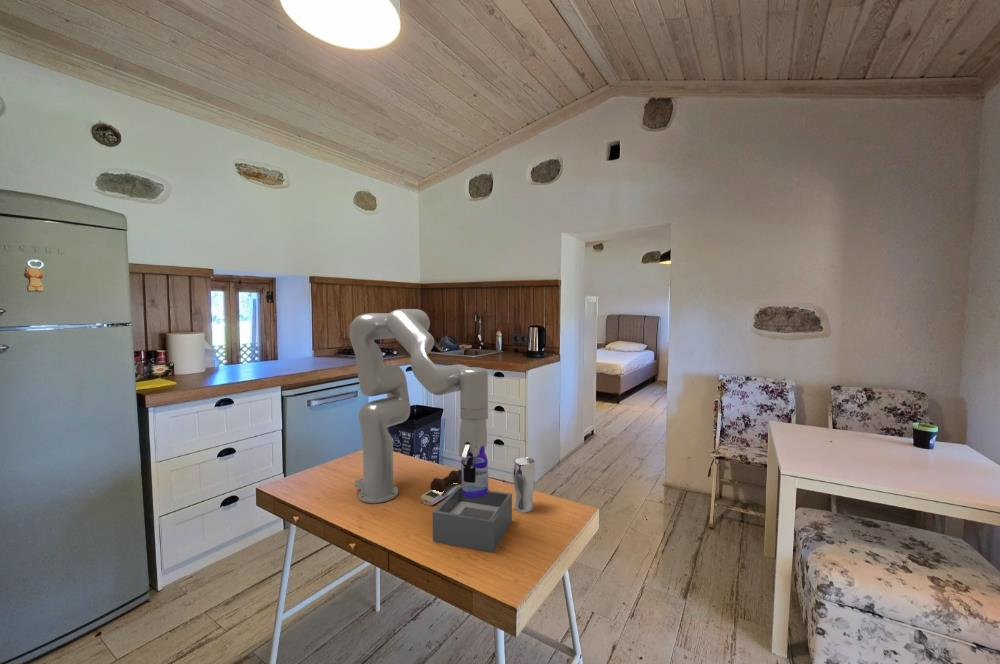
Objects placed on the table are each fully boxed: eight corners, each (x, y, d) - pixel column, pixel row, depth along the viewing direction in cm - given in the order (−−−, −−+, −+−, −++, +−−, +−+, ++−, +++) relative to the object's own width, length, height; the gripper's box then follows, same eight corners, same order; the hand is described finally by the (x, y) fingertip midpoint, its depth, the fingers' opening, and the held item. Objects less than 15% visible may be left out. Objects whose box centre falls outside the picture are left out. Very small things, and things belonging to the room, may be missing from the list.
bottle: (465, 501, 112) (465, 437, 111) (459, 492, 117) (458, 431, 116) (490, 496, 115) (490, 433, 114) (483, 488, 120) (483, 428, 119)
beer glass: (508, 508, 130) (508, 460, 129) (522, 500, 135) (522, 455, 134) (525, 515, 125) (525, 466, 124) (539, 507, 130) (540, 460, 129)
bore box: (432, 541, 111) (432, 512, 111) (458, 511, 127) (458, 486, 127) (493, 552, 106) (493, 522, 106) (511, 520, 122) (512, 493, 122)
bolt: (463, 484, 152) (438, 499, 138) (453, 475, 154) (427, 489, 141) (470, 472, 150) (445, 486, 137) (460, 462, 152) (434, 475, 139)
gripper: (472, 405, 124) (473, 464, 125) (448, 419, 108) (449, 487, 109) (497, 406, 122) (497, 466, 123) (475, 422, 105) (476, 491, 106)
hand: (474, 476), depth 116 cm, fingers closed on bottle, 6 cm apart
